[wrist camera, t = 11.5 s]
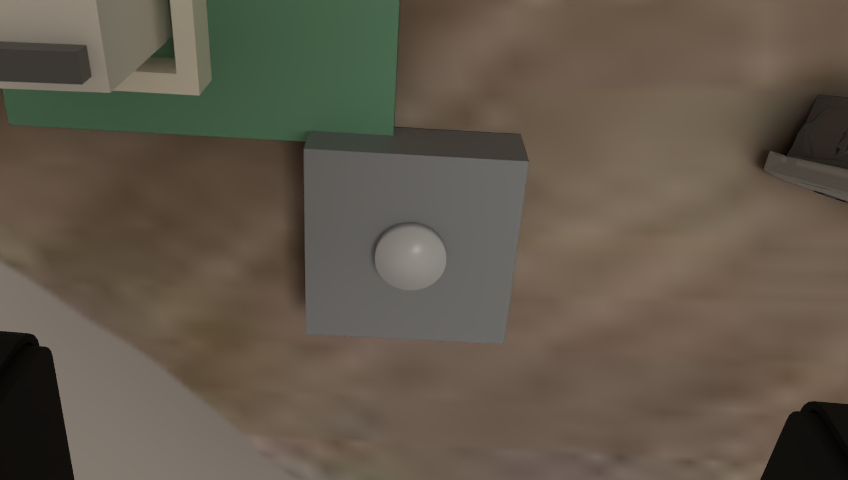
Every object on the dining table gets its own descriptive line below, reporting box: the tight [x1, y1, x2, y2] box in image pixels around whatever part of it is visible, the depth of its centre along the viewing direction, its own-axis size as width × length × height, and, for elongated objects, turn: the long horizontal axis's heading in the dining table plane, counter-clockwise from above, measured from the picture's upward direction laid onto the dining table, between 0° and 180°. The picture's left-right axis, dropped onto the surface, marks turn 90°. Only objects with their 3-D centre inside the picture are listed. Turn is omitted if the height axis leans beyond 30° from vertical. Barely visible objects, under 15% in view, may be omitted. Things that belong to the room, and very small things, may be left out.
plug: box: [0, 0, 172, 93], centre depth 26 cm, size 4×4×8 cm
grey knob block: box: [304, 127, 529, 344], centre depth 34 cm, size 9×9×4 cm
